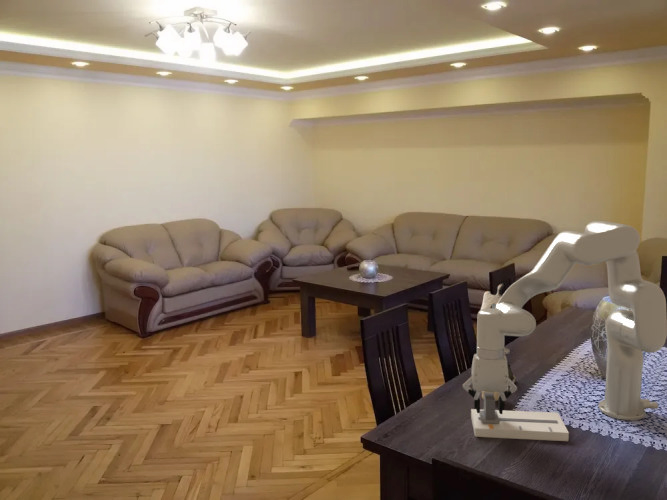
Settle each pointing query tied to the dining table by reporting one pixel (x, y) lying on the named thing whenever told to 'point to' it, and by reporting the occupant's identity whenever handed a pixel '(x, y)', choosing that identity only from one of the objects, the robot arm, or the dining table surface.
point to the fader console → (522, 426)
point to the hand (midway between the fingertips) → (489, 410)
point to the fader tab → (489, 409)
